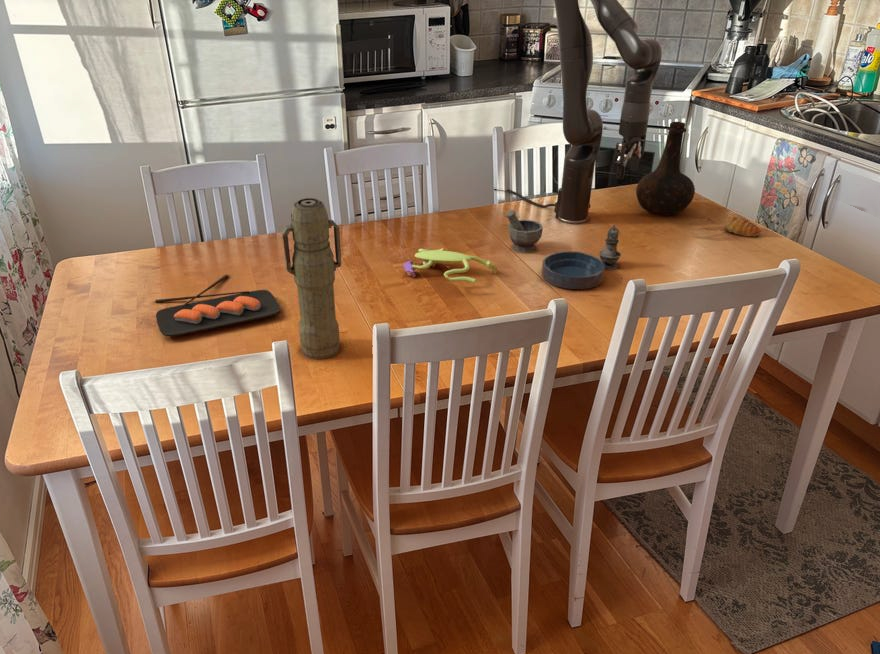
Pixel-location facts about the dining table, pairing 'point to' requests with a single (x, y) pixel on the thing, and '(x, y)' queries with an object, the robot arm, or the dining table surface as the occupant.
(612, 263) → the salt shaker
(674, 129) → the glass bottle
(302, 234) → the thermos
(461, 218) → the dining table surface
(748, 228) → the pastry
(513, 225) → the mortar and pestle
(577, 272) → the bowl
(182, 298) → the sushi plate
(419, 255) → the figurine
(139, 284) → the dining table surface
